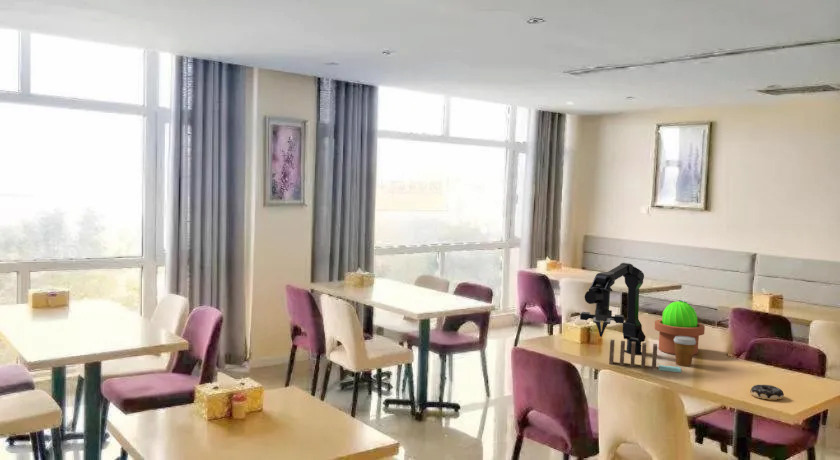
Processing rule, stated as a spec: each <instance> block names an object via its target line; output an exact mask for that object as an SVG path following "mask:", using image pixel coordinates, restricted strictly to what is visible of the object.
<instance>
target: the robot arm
mask: <svg viewBox="0 0 840 460" xmlns="http://www.w3.org/2000/svg"><path fill="white" fill-rule="evenodd" d="M621 277H624V283H625V286H626V288H627V313H626V314H627V318H626V320H625V316H624V314H615V315H613V311H612V310H611V309H610V304H611V303H610V302H611V301H610V299H611V297H610V296H611V292H613V289H612V286H614V284H615V281H616V280H618V279H620V278H621ZM644 278H645V274H644V272H643V271H642V270H641V269H639V268H637V267H636V266H634V265H633V264H632V263H630V262H629V263H627V262H622V263H620V264H619V265H617V266H616V267H613V268H612V269H610V270H608V271H602V272H598V273H596V275H595V276H594V278H593V281H592V283H591V285H590V287H589V288H588V291H586V292H585V294H584V300H585V302H586V303H587V304H589V305H593V304H595V311H594V314H593V313H591V312H590V311H581V312H580V314H579V320H581V321H588V320H589V319H593V321H592V322H593V323H595V325H596V328H597V330H598V331H597V332H598V334H599V337H601V338H602V337H603V335H604V332H605V330H606V327H607V326H608V325H610V324H611V321H613V322H615V324H622V329H621V330H622V334H623V339H624V340H626V349H625V351H624V353H628V354H629V355H631V347H632V342H636V344H635V355H642V343H645V341H646V334H645V333H644V331H643V326H642V325H643V324H642V323H641V321H640V320H639V306H640V305H639V304H640V303H639V301H640V288H641V286H642V285H643V284H644Z"/></svg>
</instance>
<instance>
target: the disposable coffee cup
mask: <svg viewBox="0 0 840 460" xmlns="http://www.w3.org/2000/svg"><path fill="white" fill-rule="evenodd" d="M674 343H675V364H676V365H677V366H679V367H681V366H682V367H690V366H691V367H692V361H693V356H694V355H693V352H694V347H695V344H696V340H695V338H692V337H688V336H675V338H674Z"/></svg>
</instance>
